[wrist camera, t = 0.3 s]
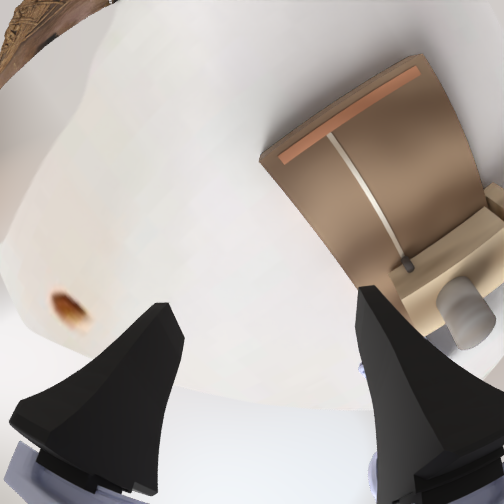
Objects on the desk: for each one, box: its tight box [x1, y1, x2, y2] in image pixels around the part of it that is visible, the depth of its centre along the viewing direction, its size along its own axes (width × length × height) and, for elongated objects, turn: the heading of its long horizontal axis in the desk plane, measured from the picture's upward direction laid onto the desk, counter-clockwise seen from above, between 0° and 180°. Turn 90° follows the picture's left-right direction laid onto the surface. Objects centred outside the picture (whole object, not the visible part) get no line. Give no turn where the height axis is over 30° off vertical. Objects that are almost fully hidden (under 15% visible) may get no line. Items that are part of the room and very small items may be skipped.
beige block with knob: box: [388, 182, 504, 350], centre depth 14 cm, size 6×12×8 cm, turn 130°
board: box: [259, 54, 488, 328], centre depth 17 cm, size 19×12×2 cm, turn 40°
